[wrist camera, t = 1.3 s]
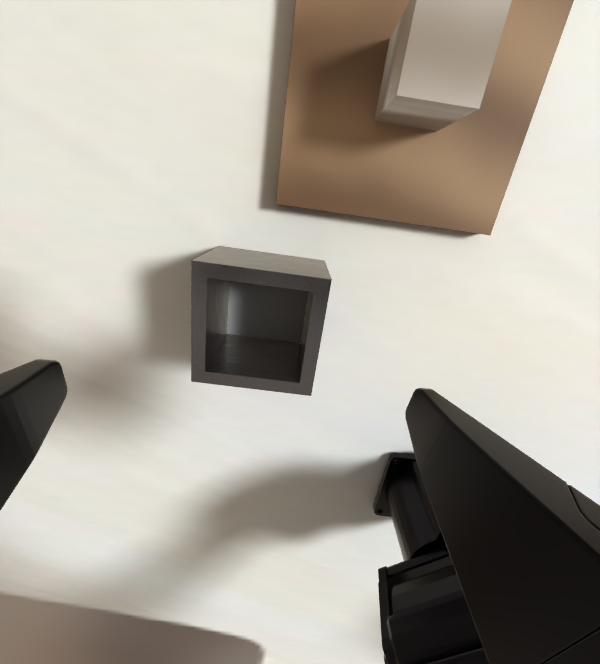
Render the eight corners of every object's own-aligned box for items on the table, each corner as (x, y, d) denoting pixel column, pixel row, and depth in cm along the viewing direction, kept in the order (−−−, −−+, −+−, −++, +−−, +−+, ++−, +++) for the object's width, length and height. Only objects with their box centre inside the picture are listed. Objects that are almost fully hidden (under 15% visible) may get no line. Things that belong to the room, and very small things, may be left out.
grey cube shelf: (309, 354, 21) (310, 395, 17) (215, 342, 21) (191, 381, 17) (324, 260, 19) (331, 279, 14) (219, 245, 19) (191, 260, 14)
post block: (480, 233, 18) (540, 244, 14) (277, 203, 18) (268, 204, 13) (577, -50, 14) (717, -177, 9) (307, -101, 13) (310, -264, 9)
